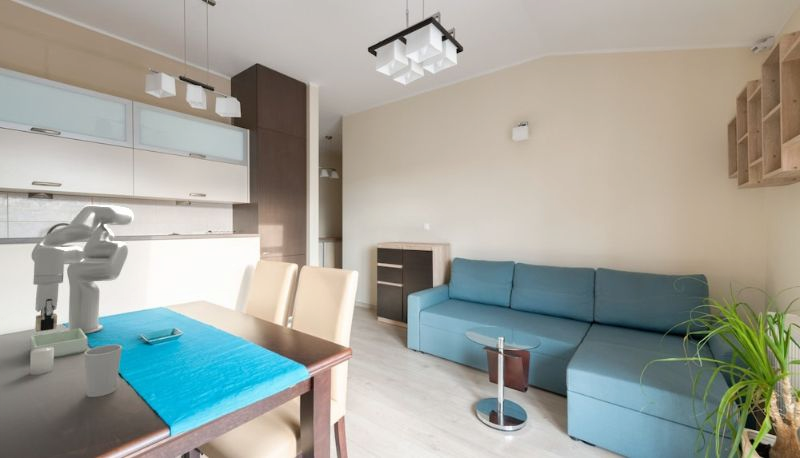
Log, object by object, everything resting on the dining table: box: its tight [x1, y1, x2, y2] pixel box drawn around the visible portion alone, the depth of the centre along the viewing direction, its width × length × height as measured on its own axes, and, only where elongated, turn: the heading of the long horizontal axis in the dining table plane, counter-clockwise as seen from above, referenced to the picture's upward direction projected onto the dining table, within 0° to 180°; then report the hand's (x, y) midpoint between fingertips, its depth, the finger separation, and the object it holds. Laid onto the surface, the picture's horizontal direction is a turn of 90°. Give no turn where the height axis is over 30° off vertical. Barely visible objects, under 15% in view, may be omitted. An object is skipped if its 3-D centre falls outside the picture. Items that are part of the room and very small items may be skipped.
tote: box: [30, 328, 89, 359], centre depth 120 cm, size 17×13×5 cm
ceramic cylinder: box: [29, 347, 55, 376], centre depth 103 cm, size 5×5×7 cm
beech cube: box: [34, 312, 58, 333], centre depth 119 cm, size 5×5×5 cm
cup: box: [83, 344, 123, 398], centre depth 92 cm, size 8×8×12 cm
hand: (46, 327), depth 119 cm, fingers closed on beech cube, 5 cm apart
